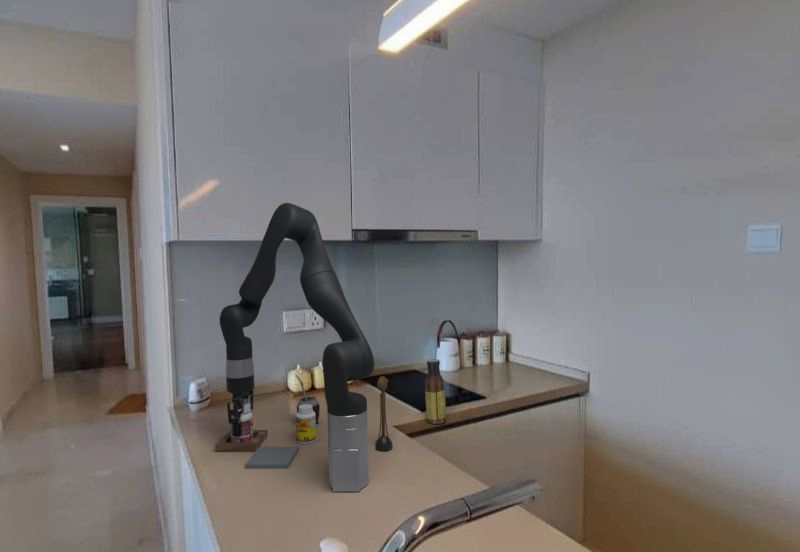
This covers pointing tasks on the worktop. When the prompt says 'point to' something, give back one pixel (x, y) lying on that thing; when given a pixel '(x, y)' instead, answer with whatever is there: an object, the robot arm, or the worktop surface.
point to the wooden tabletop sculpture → (383, 420)
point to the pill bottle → (244, 426)
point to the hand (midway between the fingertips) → (242, 431)
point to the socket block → (241, 443)
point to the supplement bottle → (305, 424)
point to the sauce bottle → (435, 394)
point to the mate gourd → (309, 402)
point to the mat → (272, 457)
